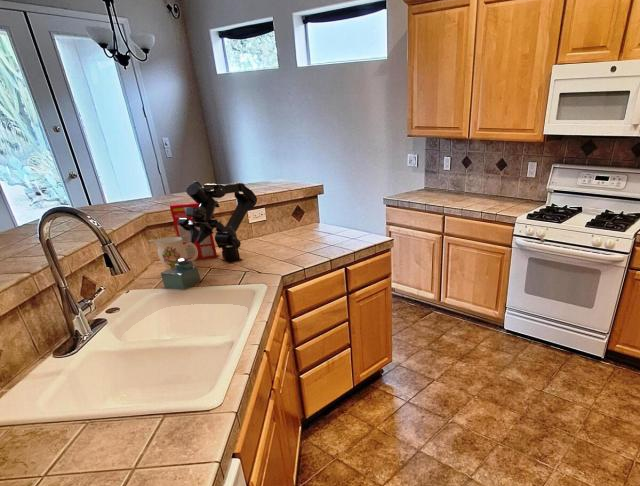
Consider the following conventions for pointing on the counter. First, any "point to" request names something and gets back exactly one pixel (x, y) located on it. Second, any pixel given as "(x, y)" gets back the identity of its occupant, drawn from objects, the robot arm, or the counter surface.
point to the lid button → (183, 261)
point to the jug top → (181, 276)
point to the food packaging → (205, 247)
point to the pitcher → (172, 250)
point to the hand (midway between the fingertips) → (195, 243)
